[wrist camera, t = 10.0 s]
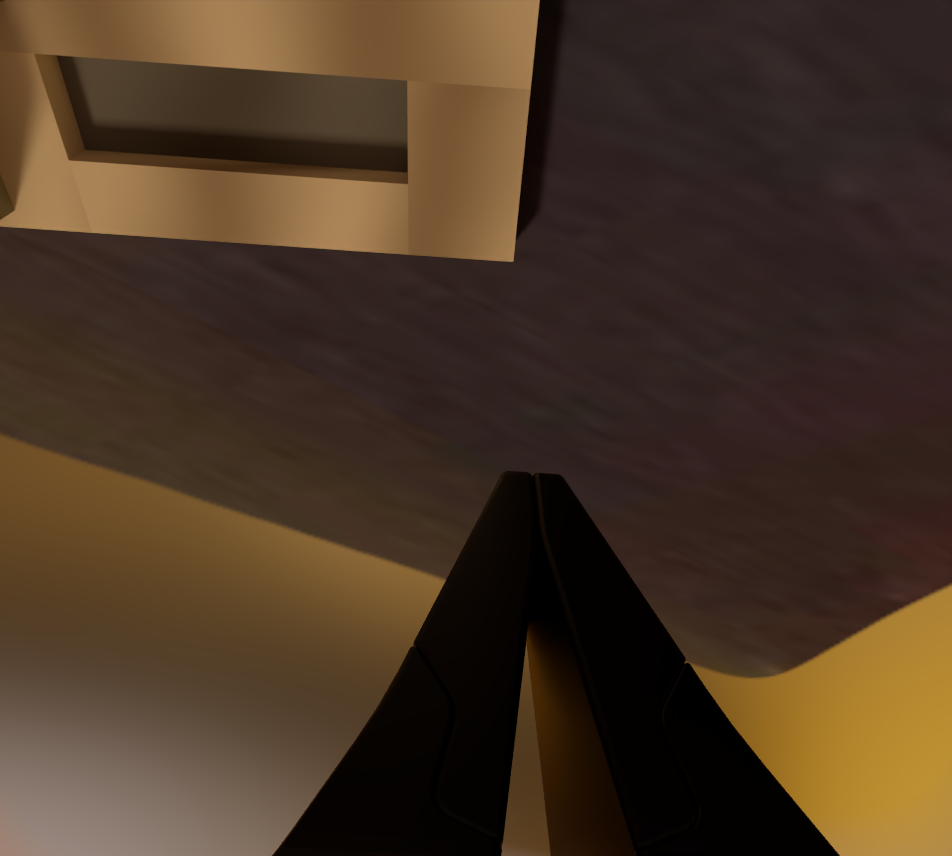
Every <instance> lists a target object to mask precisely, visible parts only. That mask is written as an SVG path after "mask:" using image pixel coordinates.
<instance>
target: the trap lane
mask: <svg viewBox="0 0 952 856" xmlns="http://www.w3.org/2000/svg"><path fill="white" fill-rule="evenodd" d="M539 2H540V0H4V1H0V226H3V227H17V228H32V229H46V230H61V231H75V232H90V233H104V234H118V235H133V236H147V237H162V238H176V239H191V240H205V241H219V242H234V243H248V244H263V245H277V246H292V247H306V248H320V249H335V250H349V251H364V252H378V253H392V254H407V255H421V256H436V257H450V258H465V259H479V260H493V261H508V262H513V259H514V249H515V239H516V230H517V220H518V210H519V200H520V190H521V180H522V170H523V160H524V150H525V141H526V131H527V121H528V111H529V101H530V91H531V81H532V71H533V62H534V52H535V42H536V32H537V22H538V12H539Z"/></svg>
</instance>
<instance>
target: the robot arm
mask: <svg viewBox="0 0 952 856" xmlns="http://www.w3.org/2000/svg"><path fill="white" fill-rule="evenodd" d="M526 642H527V651H528V660H529V668H530V677H531V686H532V695H533V703H534V711H535V721H536V730H537V738H538V748H539V756H540V765H541V774H542V783H543V792H544V801H545V809H546V818H547V827H548V836H549V845H550V853H551V856H840V855H839V854H838V853H837V852H836V851H835V849H834V848H833V847H832V846H831V845H830V843H829V842H828V841H827V840H826V839H825V837H824V836H823V835H822V834H821V833H820V831H819V830H818V829H817V828H816V827H815V825H814V824H813V823H812V822H811V820H810V819H809V818H808V817H807V816H806V814H805V813H804V812H803V811H802V810H801V809H800V807H799V806H798V805H797V804H796V803H795V801H794V800H793V799H792V798H791V796H790V795H789V794H788V793H787V792H786V791H785V789H784V788H783V787H782V786H781V784H780V783H779V782H778V781H777V780H776V778H775V777H774V776H773V775H772V774H771V772H770V771H769V770H768V769H767V768H766V766H765V765H764V764H763V763H762V761H761V760H760V759H759V758H758V756H757V755H756V754H755V753H754V751H753V750H752V749H751V748H750V746H749V745H748V744H747V743H746V742H745V740H744V739H743V738H742V736H741V735H740V734H739V733H738V732H737V730H736V729H735V728H734V726H733V725H732V724H731V722H730V721H729V719H728V718H727V717H726V715H725V714H724V713H723V711H722V710H721V708H720V707H719V706H718V704H717V703H716V701H715V700H714V699H713V697H712V696H711V694H710V693H709V692H708V690H707V689H706V687H705V686H704V685H703V683H702V681H701V680H700V679H699V677H698V675H697V674H696V672H695V671H694V669H693V668H692V666H691V665H690V664H689V663H685V661H686V658H685V656H684V655H683V654H682V652H681V651H680V649H679V648H678V646H677V645H676V643H675V642H674V640H673V639H672V637H671V636H670V634H669V633H668V631H667V630H666V628H665V627H664V625H663V624H662V623H661V621H660V620H659V618H658V617H657V615H656V614H655V612H654V611H653V609H652V608H651V606H650V605H649V603H648V602H647V600H646V599H645V597H644V596H643V594H642V593H641V591H640V590H639V589H638V587H637V586H636V584H635V583H634V581H633V580H632V578H631V577H630V575H629V574H628V572H627V571H626V569H625V568H624V566H623V565H622V563H621V562H620V560H619V559H618V558H617V556H616V555H615V553H614V552H613V550H612V549H611V547H610V546H609V544H608V543H607V541H606V540H605V538H604V537H603V535H602V534H601V532H600V531H599V529H598V528H597V527H596V525H595V524H594V522H593V521H592V519H591V518H590V516H589V515H588V513H587V512H586V510H585V509H584V507H583V506H582V504H581V503H580V501H579V500H578V498H577V497H576V495H575V494H574V493H573V491H572V490H571V488H570V487H569V485H568V484H567V482H566V481H565V479H564V478H563V477H562V476H561V475H559V474H547V473H536V474H534V475H533V476H532V475H531V474H530V473H528V472H515V471H505V472H504V473H503V474H502V475H501V477H500V479H499V481H498V483H497V485H496V487H495V488H494V490H493V492H492V494H491V496H490V498H489V500H488V502H487V504H486V506H485V507H484V509H483V511H482V513H481V515H480V517H479V519H478V521H477V523H476V525H475V526H474V528H473V530H472V532H471V534H470V536H469V538H468V540H467V542H466V544H465V545H464V547H463V549H462V551H461V553H460V555H459V557H458V559H457V561H456V563H455V564H454V566H453V568H452V570H451V572H450V574H449V576H448V578H447V580H446V582H445V584H444V585H443V587H442V589H441V591H440V593H439V595H438V597H437V599H436V601H435V603H434V604H433V606H432V608H431V610H430V612H429V614H428V616H427V618H426V620H425V622H424V623H423V625H422V628H421V629H420V631H419V633H418V635H417V637H416V639H415V641H414V644H413V647H411V648H410V649H409V651H408V653H407V655H406V657H405V659H404V661H403V663H402V665H401V666H400V668H399V670H398V672H397V674H396V676H395V677H394V679H393V681H392V682H391V684H390V686H389V688H388V689H387V691H386V693H385V695H384V696H383V698H382V700H381V702H380V703H379V705H378V707H377V708H376V710H375V711H374V713H373V714H372V716H371V717H370V719H369V720H368V722H367V723H366V725H365V726H364V728H363V729H362V731H361V732H360V734H359V735H358V737H357V738H356V740H355V741H354V743H353V744H352V746H351V747H350V748H349V750H348V751H347V753H346V754H345V756H344V757H343V758H342V760H341V761H340V763H339V764H338V766H337V767H336V768H335V770H334V771H333V773H332V774H331V775H330V777H329V778H328V780H327V781H326V782H325V784H324V785H323V787H322V788H321V789H320V791H319V792H318V794H317V795H316V796H315V798H314V799H313V801H312V802H311V803H310V805H309V806H308V808H307V809H306V810H305V812H304V813H303V815H302V816H301V818H300V819H299V820H298V822H297V823H296V825H295V826H294V827H293V829H292V830H291V832H290V833H289V834H288V836H287V837H286V838H285V840H284V841H283V842H282V844H281V845H280V846H279V848H278V849H277V850H276V851H275V853H274V854H273V855H272V856H501V853H502V848H501V847H502V843H503V835H504V828H505V818H506V810H507V802H508V793H509V785H510V776H511V767H512V759H513V751H514V742H515V734H516V725H517V717H518V708H519V700H520V691H521V682H522V673H523V665H524V657H525V648H526ZM684 663H685V664H684Z"/></svg>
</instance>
